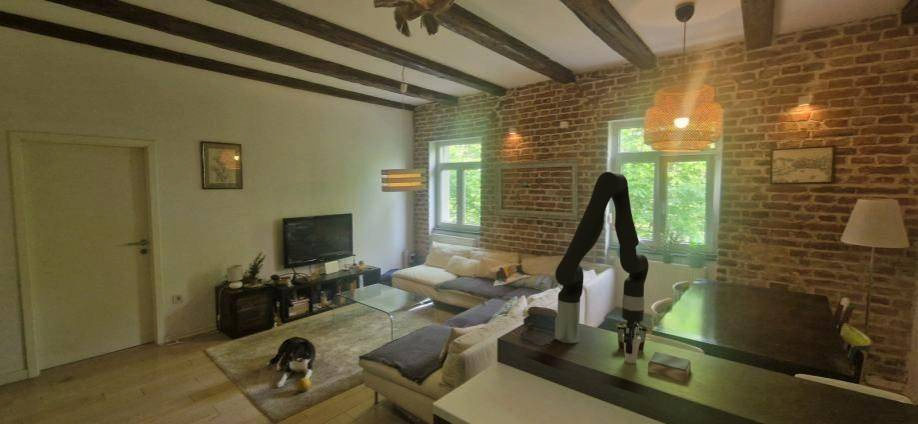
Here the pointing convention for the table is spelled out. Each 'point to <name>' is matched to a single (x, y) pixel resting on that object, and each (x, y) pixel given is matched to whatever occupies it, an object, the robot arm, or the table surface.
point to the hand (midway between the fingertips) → (631, 350)
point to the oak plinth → (670, 366)
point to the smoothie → (632, 357)
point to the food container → (620, 330)
